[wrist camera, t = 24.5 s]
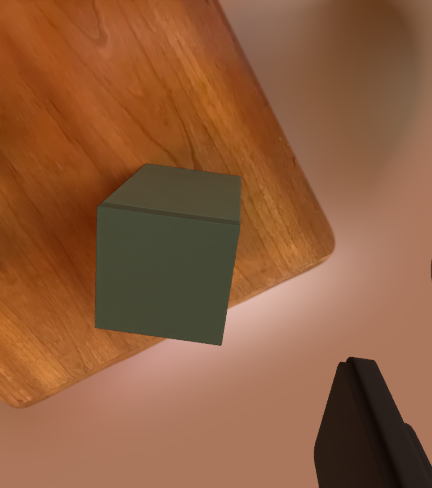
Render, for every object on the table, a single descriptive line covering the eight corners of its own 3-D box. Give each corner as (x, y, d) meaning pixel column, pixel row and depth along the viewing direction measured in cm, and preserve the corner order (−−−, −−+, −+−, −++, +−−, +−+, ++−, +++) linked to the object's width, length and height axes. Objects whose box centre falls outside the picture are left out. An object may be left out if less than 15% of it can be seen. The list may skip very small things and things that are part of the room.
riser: (241, 176, 39) (240, 226, 26) (228, 263, 42) (221, 346, 29) (145, 163, 39) (96, 206, 26) (140, 251, 42) (94, 328, 29)
